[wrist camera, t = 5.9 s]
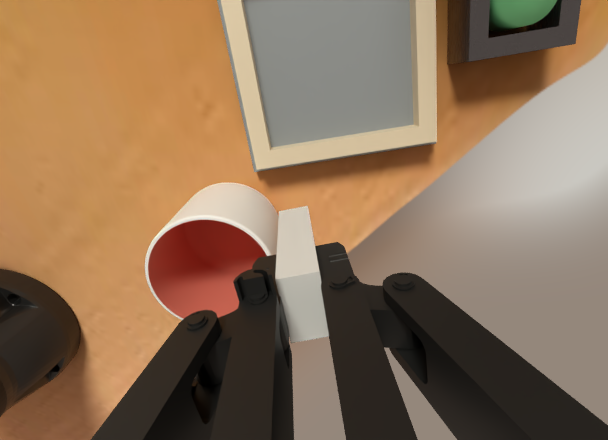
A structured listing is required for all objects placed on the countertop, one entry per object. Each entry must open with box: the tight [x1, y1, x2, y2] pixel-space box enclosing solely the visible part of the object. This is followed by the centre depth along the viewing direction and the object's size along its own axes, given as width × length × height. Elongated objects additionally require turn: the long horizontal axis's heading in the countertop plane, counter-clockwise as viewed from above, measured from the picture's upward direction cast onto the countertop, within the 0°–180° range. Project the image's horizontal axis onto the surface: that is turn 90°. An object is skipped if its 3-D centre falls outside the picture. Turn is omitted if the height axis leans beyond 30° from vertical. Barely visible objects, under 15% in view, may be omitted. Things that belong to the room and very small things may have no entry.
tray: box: [217, 0, 437, 172], centre depth 28 cm, size 17×17×3 cm
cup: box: [145, 183, 279, 320], centre depth 31 cm, size 10×10×10 cm
